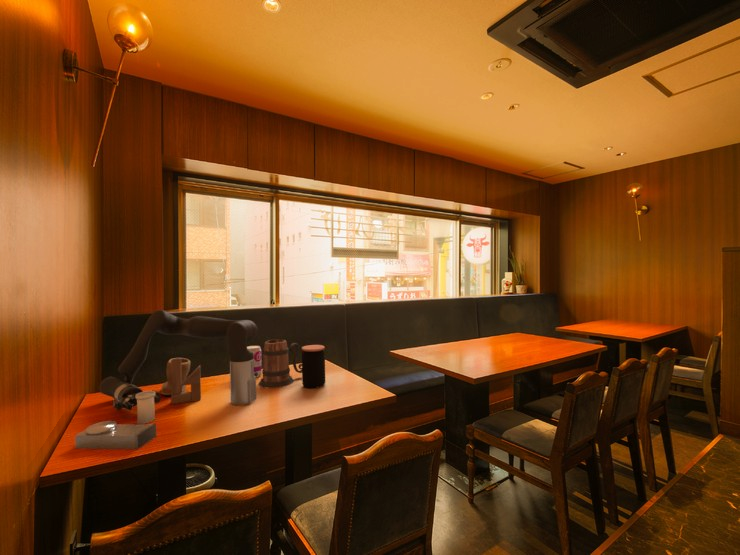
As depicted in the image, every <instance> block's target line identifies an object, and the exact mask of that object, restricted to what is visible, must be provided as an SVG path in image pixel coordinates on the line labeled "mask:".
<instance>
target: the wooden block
mask: <svg viewBox="0 0 740 555" xmlns="http://www.w3.org/2000/svg"><path fill="white" fill-rule="evenodd" d="M174 358H175V359H172V358H171V359H172V360H171V367H172V395H170V399H171V400H170V402H171V403H170V404H171V405H177V404H176V403H178V404H183V403H184V402H185V403H189V402H190V403H191V402H192V401H193V402H198V400H199V401H201V399H202V388H201V384H202V382H201V364H199V365H198V366H197V367H196V368H195V369H194V370H193V371H192V372H191V374H188V376H187V377H186V380H185V381H184V382H183V383H182V371H181V358H182V357H174ZM184 385H186V386H189V385H190V391H185V392H182V386H184Z"/></svg>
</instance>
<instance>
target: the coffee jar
mask: <svg viewBox="0 0 740 555" xmlns="http://www.w3.org/2000/svg"><path fill="white" fill-rule="evenodd" d="M325 348H326V347H325V346H324V345H322V344H311V345H310V344H309V345H304V346H301V351H302V352H301V364H302V366H301V368H302V373H301V377H302V379H301V380H302V381H301V382H302V383H301V384H302V386H303V387H304V388H305V389H308V390H309V389H311V390H313V389H319V388H322V387H324V386H325V384H326V355H325V354H326V351H325Z"/></svg>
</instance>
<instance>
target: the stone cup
mask: <svg viewBox="0 0 740 555" xmlns="http://www.w3.org/2000/svg"><path fill="white" fill-rule="evenodd" d="M175 358H176V357H174V358H170V359H169V360H168V361H167V363H166V371H165V372H166V373H165V374H166V378H167V381H166V382H163V383H162V385H161V388H160V389H161V390H160V394H161V395H163V396H172V367H171V360H172V359H175ZM180 358H181V371H182V383H183V382H184V381H185V380H186V379H187V378H188V376H189V372H190V371H191V370H190V369H191V363H192V362H191V360H190V359H188V358H184V357H180ZM186 391H187V385H184V386H182V392H186Z"/></svg>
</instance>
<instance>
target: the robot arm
mask: <svg viewBox="0 0 740 555" xmlns="http://www.w3.org/2000/svg"><path fill="white" fill-rule="evenodd" d="M258 331H259V330H258V326H257V324H255V322H254V321H252V320H249V319H239V320H238V319H233V320H231V319H224V318H218V317H211V316H203V315H196V316H192V317H190V318H184V317H183V318H182V317H178V316H176V315H174V314H172V313H170V312H167V311H165V310H163V309H157V310H155V311H153V313H151V315H150V316H149V317H148V319H147V321H146V322H145V325H144V326H143V328H142V330H141V332H140V333H139V335H138V337H137V340H136V341H135V343H134V345H133V347H132V348H131V350H130V351H129V353H128V354H127V356H126V357H125V358H124V359H123V361H121V364H120V365H119V366H118V369H117V371H118V372H119V373H120V374H121V375H123V376H124V379H120V378H118V377H114V376H108V377H105V378H104V379H103V380H102V381H101V382H100V384H99V392H100V393H101V394H102V395H106V396H108V397H111V398H113V400H112V403H113V404H112V407H113V408H114V409H115V410H116V411H120V410H122V409H123V410H127V411H130V412H131V411H132V410H133V407H137V399H136V394H138V393H140V392H144V391H143V389H142V388H140V387H138V386H137V385H134V384H132V383H133V381H134V379H135V377H136V374H137V373H138V371H139V370H140V369H141V368H142V366H143V364H144V363H145V361H146V360H147V356H148V352H149V345H150V341H151V339H152V337H153V335H155V333H156V332H157V333H160V334H162V335H167V336H168V335H169V336H173V335H175V336H177V335H183V336H187V337H192V338H197V339H198V338H199V339H218V338H219V339H220V338H226V348H227V350H226V351H227V355H228V357H229V376H230V377H229V380H230V382H229V384H230V387H229V388H230V389H229V390H230V404H231V405H235V406H243V405H249V404H252V403H253V402H255V400H256V399H257V377H256V376H254V354H253V352H252V351H249V350H248V349H247V347H248V344H247V343H248V342H251V341H252V340H254V339H255V338H256V337H257V335H258V333H259V332H258ZM151 391H155V396H154V404H158V403H159V402H160V400H161V391H157V390H155V389H154V390H153V389H152V390H151Z"/></svg>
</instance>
